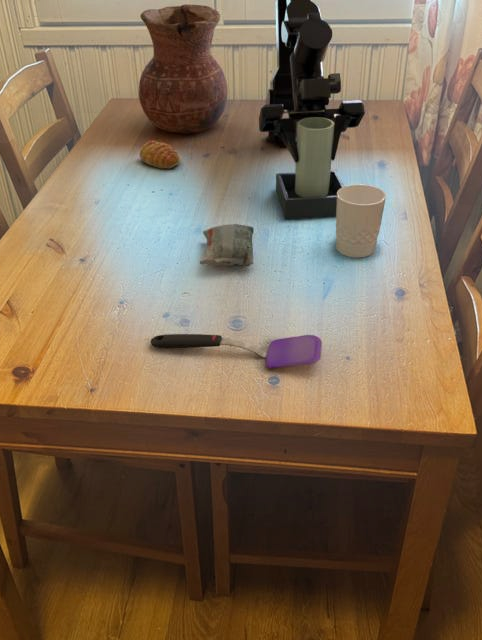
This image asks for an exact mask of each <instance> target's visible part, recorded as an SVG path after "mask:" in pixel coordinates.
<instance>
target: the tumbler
mask: <svg viewBox="0 0 482 640" xmlns="http://www.w3.org/2000/svg"><path fill="white" fill-rule="evenodd" d="M333 135H334V122H333V121H332V120H330V119H327V118H322V117H308V118H304V119H301V120H299V122H298V127H297V143H296V146H297V151H298V162H297V163H295V169H294V170H295V171H294V173H295V193H296V194H297V195H298V196H301V197H321V196H326V195H327V194H328V192H329V184H330V172H331V171H332V147H333Z"/></svg>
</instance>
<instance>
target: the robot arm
mask: <svg viewBox="0 0 482 640" xmlns="http://www.w3.org/2000/svg"><path fill="white" fill-rule="evenodd" d="M274 4H275V37H276V39H275V40H276V41H275V42H276V43H275V44H276V45H275V46H276V69H275V72H274V74H273V76H272V78H271V80H270V82H269V88H268V89H267V93H266V97H265V104H263V105H262V107H261V108H260V112H259V117H258V127H259V129H258V130H259V132H261V133H268V136H265V140H266V141H268V142H270V143H272V144H274V145H275V146H278V147H280V148H287V150H288V152H289V154H290V156H291V158H292V160H293V161H294V163H295V164H296V163H297V162H298V151H297V127H298V122H299V120H301V119H304V118H308V117H322V118H327V119H330V120H332V121H333V122H334V135H333V147H332V159H331V162H332V161H333V162H334V161H335V159H336V155H337V151H338V145H339V143H340V138H341V135H342V133H345V132H346V131H347V129H349V128H350V129H352V128H356V127H359V125H360V123H361V122H362V120H363V118H364V116H365V114H366V110H365V104H364V103H363V102H362V100H360V99H357V100H356V99H355V100H354V99H353V100H341V102H340V104H339V107H338V108H327V107H326V106H329V103H330V99H331V98H332V95H333V94H335V95H337V94H339V93H341V91H342V79H341V78H342V77H341V73H340V72H339V73H338V72H336V73H329V74H328V75H327V77H324V74H323V62H324V61H325V58H326V55H327V53H328V50H329V48H330V45H331V41H332V39H333V29H332V28H331V25H330V24H329V23H328V22H327V21H325V19H322V14H321V11H320V7H319V6H318V5H317V4H316V3H315V2H314V1H312V0H275V3H274Z"/></svg>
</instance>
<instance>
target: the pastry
mask: <svg viewBox="0 0 482 640" xmlns="http://www.w3.org/2000/svg"><path fill="white" fill-rule="evenodd" d="M139 157H140V159H141V160H142V162H143V163H146V164H147V165H149V166H151V167H155V168H158V169H171V168H174V167H176V166H178V165H179V164H180V161H181V157H180V156H179V153H178V151H176V149H174V148H173V147H172V146H170V144H167V143H165V142H164V141H163V142H161V141H160V142H158V141H157V140H148V141H147V142H146V143H145V144H143V145H142V147H141V150H140V152H139Z"/></svg>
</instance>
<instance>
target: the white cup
mask: <svg viewBox="0 0 482 640" xmlns="http://www.w3.org/2000/svg"><path fill="white" fill-rule="evenodd" d="M344 186H345V187H342V188H341V189H339V190H338V192H337V205H336V217H335V249H336V251H337V252H338V253H339V254H340V255H343V256H345V257H348V258H356V259H357V258H358V259H359V258H366V257H368V256H369V257H370V256H371V255H373V254H374V253H375V252H376V250H377V249H376V248H377V243H378V237H379V235H380V230H381V225H382V220H383V215H384V209H385V203H386V199H387V194H386V192H385V191H384V190H382V189H381V188H379V187H377V186H374V185H370V184H361V183H357V184H355V183H354V184H348V185H344Z"/></svg>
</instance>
